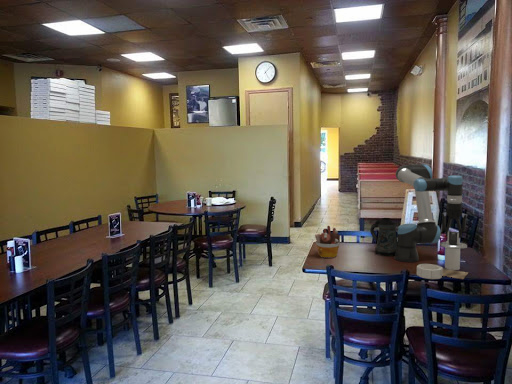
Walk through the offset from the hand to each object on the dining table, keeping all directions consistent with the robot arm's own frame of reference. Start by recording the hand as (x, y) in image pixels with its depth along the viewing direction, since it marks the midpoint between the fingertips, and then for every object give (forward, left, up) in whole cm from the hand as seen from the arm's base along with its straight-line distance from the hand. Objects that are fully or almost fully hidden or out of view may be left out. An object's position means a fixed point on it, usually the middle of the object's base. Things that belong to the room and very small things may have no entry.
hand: (453, 242), depth 233 cm
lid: (0, 0, -2) cm, 2 cm away
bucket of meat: (-79, -3, -19) cm, 81 cm away
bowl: (-10, -10, -18) cm, 23 cm away
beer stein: (-49, +25, -19) cm, 58 cm away
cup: (-3, +13, -19) cm, 23 cm away
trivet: (0, 0, -18) cm, 18 cm away
